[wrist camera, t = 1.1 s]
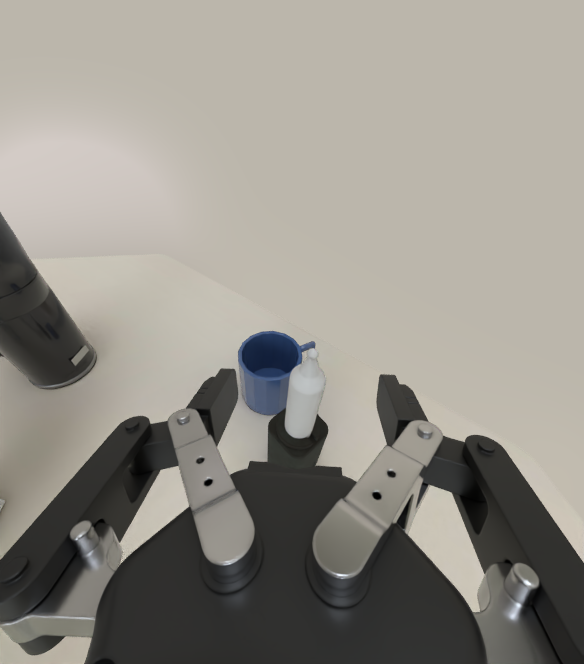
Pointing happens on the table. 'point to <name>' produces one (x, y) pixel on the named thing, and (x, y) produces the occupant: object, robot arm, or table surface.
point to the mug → (268, 369)
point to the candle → (300, 418)
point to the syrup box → (1, 503)
